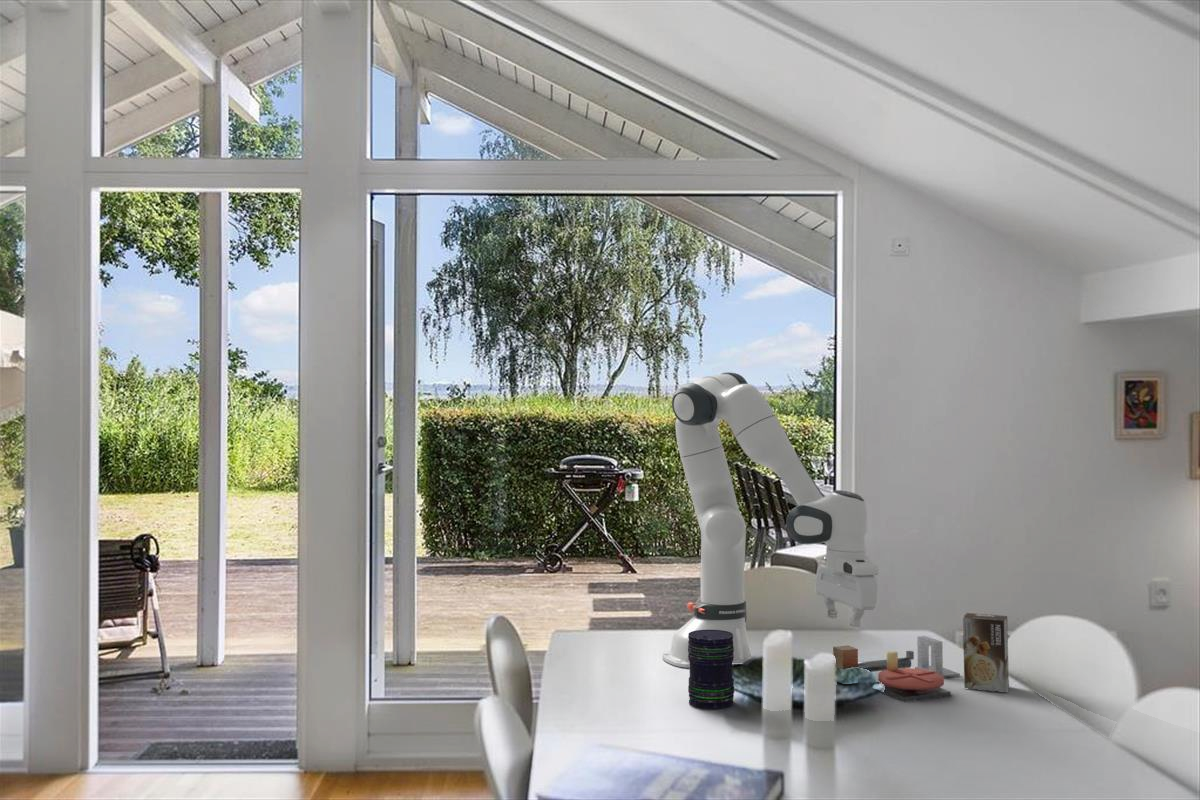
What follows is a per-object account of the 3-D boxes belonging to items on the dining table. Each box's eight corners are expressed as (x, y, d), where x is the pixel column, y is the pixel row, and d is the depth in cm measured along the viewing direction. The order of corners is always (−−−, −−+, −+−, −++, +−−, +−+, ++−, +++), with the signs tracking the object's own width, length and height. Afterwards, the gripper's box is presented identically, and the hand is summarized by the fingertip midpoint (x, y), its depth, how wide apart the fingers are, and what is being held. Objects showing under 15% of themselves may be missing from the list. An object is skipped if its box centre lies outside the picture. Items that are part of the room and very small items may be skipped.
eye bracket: (938, 678, 253) (938, 643, 253) (914, 669, 262) (914, 635, 262) (959, 676, 255) (959, 641, 255) (935, 667, 264) (935, 633, 264)
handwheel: (864, 682, 245) (864, 654, 245) (912, 674, 251) (912, 648, 251) (908, 697, 232) (908, 668, 232) (957, 689, 239) (957, 661, 239)
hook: (842, 684, 247) (842, 650, 247) (833, 680, 251) (833, 646, 251) (917, 676, 254) (917, 643, 254) (907, 672, 258) (906, 639, 258)
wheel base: (904, 701, 234) (904, 695, 234) (872, 688, 245) (872, 682, 245) (950, 696, 238) (950, 690, 238) (917, 683, 249) (917, 677, 249)
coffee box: (1010, 686, 246) (1009, 615, 246) (1006, 693, 240) (1005, 620, 240) (967, 682, 250) (967, 612, 250) (962, 688, 244) (962, 617, 244)
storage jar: (700, 695, 241) (700, 627, 241) (741, 701, 236) (741, 632, 236) (680, 706, 232) (679, 636, 232) (722, 712, 227) (721, 641, 227)
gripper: (809, 555, 259) (807, 613, 259) (858, 569, 240) (856, 632, 240) (832, 554, 261) (830, 612, 261) (883, 568, 242) (880, 630, 242)
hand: (843, 622), depth 251 cm, fingers open, 8 cm apart
